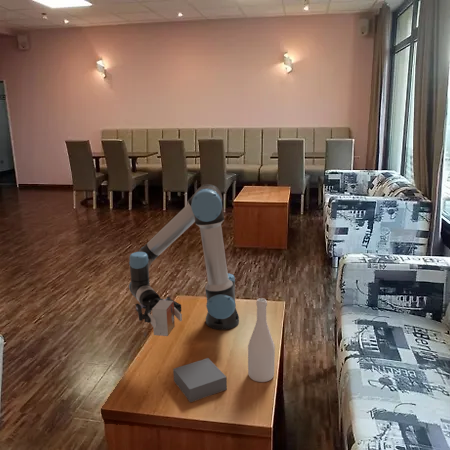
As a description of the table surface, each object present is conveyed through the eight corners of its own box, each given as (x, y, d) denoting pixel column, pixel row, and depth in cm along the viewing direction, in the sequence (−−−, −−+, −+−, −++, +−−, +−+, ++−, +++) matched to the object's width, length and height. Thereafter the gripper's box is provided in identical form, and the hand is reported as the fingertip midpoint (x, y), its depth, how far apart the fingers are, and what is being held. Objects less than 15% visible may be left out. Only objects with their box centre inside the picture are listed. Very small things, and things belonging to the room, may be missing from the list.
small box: (167, 336, 161) (166, 309, 158) (153, 335, 162) (151, 308, 160) (175, 326, 169) (174, 300, 166) (161, 325, 170) (159, 299, 167)
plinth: (208, 369, 169) (208, 357, 167) (226, 389, 157) (226, 376, 155) (173, 381, 162) (173, 368, 161) (190, 402, 150) (189, 389, 149)
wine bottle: (244, 380, 162) (244, 303, 154) (252, 366, 171) (252, 292, 163) (270, 385, 159) (271, 307, 151) (276, 370, 167) (278, 296, 160)
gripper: (174, 301, 185) (196, 323, 166) (121, 312, 175) (138, 337, 156) (173, 284, 183) (195, 304, 164) (120, 294, 174) (137, 318, 154)
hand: (168, 320), depth 160 cm, fingers closed on small box, 9 cm apart
